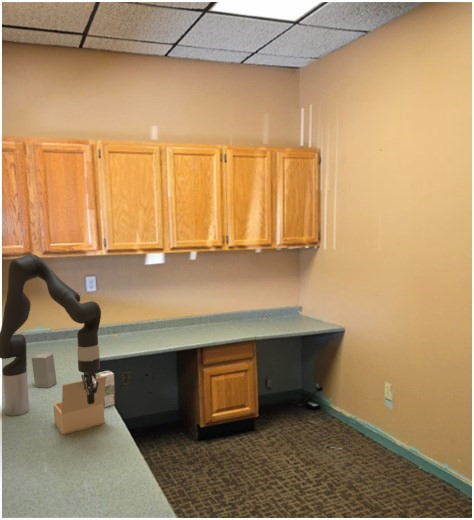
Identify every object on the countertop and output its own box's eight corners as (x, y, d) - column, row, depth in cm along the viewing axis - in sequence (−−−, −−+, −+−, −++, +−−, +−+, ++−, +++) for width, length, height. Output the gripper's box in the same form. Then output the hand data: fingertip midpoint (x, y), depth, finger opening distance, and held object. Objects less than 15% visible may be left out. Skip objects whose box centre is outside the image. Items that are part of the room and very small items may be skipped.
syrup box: (108, 401, 206) (107, 369, 205) (115, 404, 202) (114, 372, 200) (97, 405, 202) (95, 373, 201) (103, 408, 198) (102, 375, 196)
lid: (62, 384, 168) (63, 385, 168) (105, 375, 178) (106, 376, 177) (61, 413, 173) (61, 414, 173) (103, 402, 182) (103, 403, 182)
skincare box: (57, 384, 231) (55, 353, 230) (47, 389, 224) (45, 357, 223) (42, 383, 233) (40, 352, 232) (33, 387, 226) (31, 356, 225)
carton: (54, 423, 184) (53, 403, 184) (94, 413, 193) (93, 394, 193) (63, 435, 173) (61, 414, 173) (104, 423, 183) (103, 404, 182)
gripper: (73, 354, 170) (75, 400, 171) (83, 363, 159) (86, 411, 161) (93, 351, 174) (95, 395, 176) (104, 359, 163) (107, 406, 165)
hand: (91, 403), depth 168 cm, fingers closed
